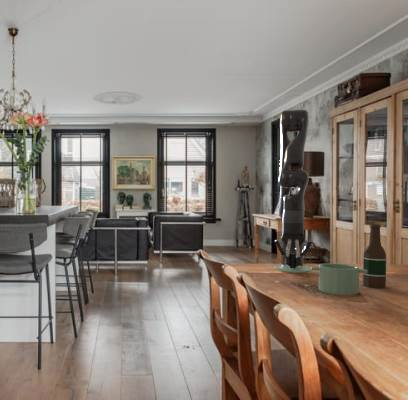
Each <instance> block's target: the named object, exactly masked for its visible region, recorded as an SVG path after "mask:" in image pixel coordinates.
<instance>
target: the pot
mask: <svg viewBox="0 0 408 400" xmlns="http://www.w3.org/2000/svg"><path fill="white" fill-rule="evenodd" d="M310 268H311V270H312V271H318V290H319V291H320V292H323V293H327V294H332V295H340V296H353V295H358V294H359V289H360V288H359V287H360V283H359V281H360V274H363V273H367V270H366V269H363V268H359V267H358V266H356V265H351V264H345V263H320V264H318V266H315V265H314V266H313V265H312V266H310Z"/></svg>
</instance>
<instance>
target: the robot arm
mask: <svg viewBox="0 0 408 400" xmlns="http://www.w3.org/2000/svg"><path fill="white" fill-rule="evenodd" d="M279 117H280V120H279V128H280V160H279V161H280V163H279V165H280V167H279V176H278V184H279V186H280V192H279V202H278V203H279V204H278V214H279V217H280V218H281V219H282V229H281V236H280V238H279V239H275V240H274V243H275V245H276V247H277V249H278V250H279V253H280V255H281V265H288V266H290V253H295V254H296V267H298V265H299V266H304V262H305V261H304V260H305V259H304V258H305V256H306V254H307V253H308V251H309V249H310V247H311V246H312V241H310V240H308V239H306V238H305V235H304V234H305V227H304V226H305V211H306V209H305V208H306V207H305V205H306V204H305V201H304V200H305V199H304V198H305V193H306V189H307V186H308V184H309V179H310V176H309V173H308V172H307V171H306V170H304V169H303V168H304V165H305V148H306V142H307V137H308V130H309V122H310V121H309V120H310V116H309V112H308V110H307V109H301V108H300V109H285V110H282V111H281V112H280V116H279ZM296 132H297V134H296V136H295V137H294V138H293V140H291V137H290V134H289V133H296ZM293 189H297V191H296V192H295V193H291V191H292V190H293Z"/></svg>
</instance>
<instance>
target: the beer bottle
mask: <svg viewBox="0 0 408 400" xmlns="http://www.w3.org/2000/svg"><path fill="white" fill-rule="evenodd" d="M381 227H382V225H381V224H375V223H374V224H373V223H372V224H370V225H369V228H370V232H369V242H368V245H367V247H366V248H365V249H364V252H363V268H362V269H366V270H367V273H362V274H363V275H362V277H363V278H362V283H363V286H364V287H367V288H372V289H384V288H386V285H387V253H386V251H385V249H384V247H383V246H382V240H381Z"/></svg>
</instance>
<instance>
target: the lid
mask: <svg viewBox="0 0 408 400" xmlns="http://www.w3.org/2000/svg"><path fill="white" fill-rule="evenodd" d="M273 269H274V270H276V271H280V272H283V273H289V274H303V273H304V274H305V273H310V272H312V271H313V270H311V267H309V266H306V265H305V266H304V265H303V266H299V265H298V267H296V254H295V253H290V266H288V265H282V264H278V265H274V266H273Z"/></svg>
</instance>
